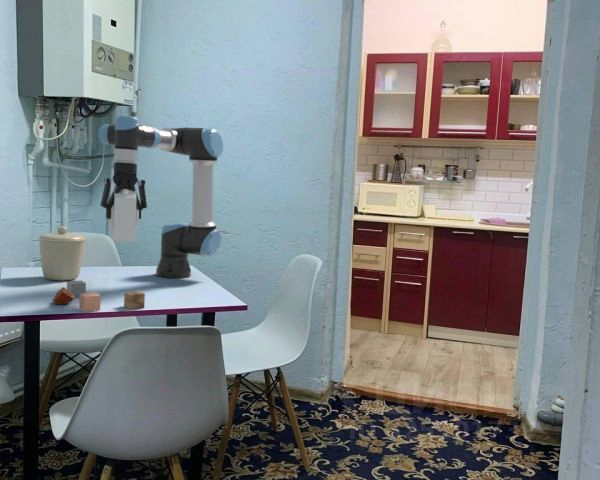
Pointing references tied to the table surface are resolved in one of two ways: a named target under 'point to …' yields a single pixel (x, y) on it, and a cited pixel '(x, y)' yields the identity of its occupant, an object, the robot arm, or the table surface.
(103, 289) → the table surface
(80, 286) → the slate grey block
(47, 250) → the canister
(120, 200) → the milk carton
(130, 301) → the walnut block
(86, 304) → the terracotta block
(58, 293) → the fruit slice
